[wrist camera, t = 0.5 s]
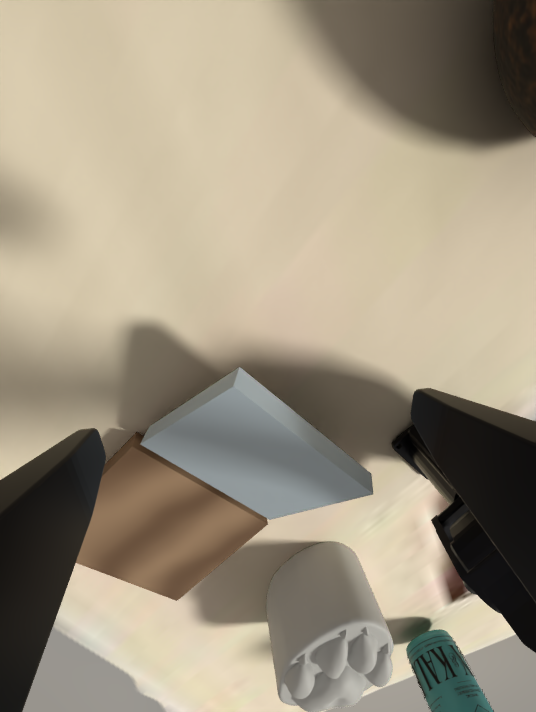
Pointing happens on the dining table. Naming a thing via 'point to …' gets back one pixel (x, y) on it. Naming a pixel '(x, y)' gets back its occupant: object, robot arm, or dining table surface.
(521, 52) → the brown flower vase
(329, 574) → the lumpy-topped squat cylinder
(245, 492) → the floor tile
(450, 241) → the dining table surface
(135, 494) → the walnut floor board
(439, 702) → the beverage bottle
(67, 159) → the dining table surface
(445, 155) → the dining table surface
